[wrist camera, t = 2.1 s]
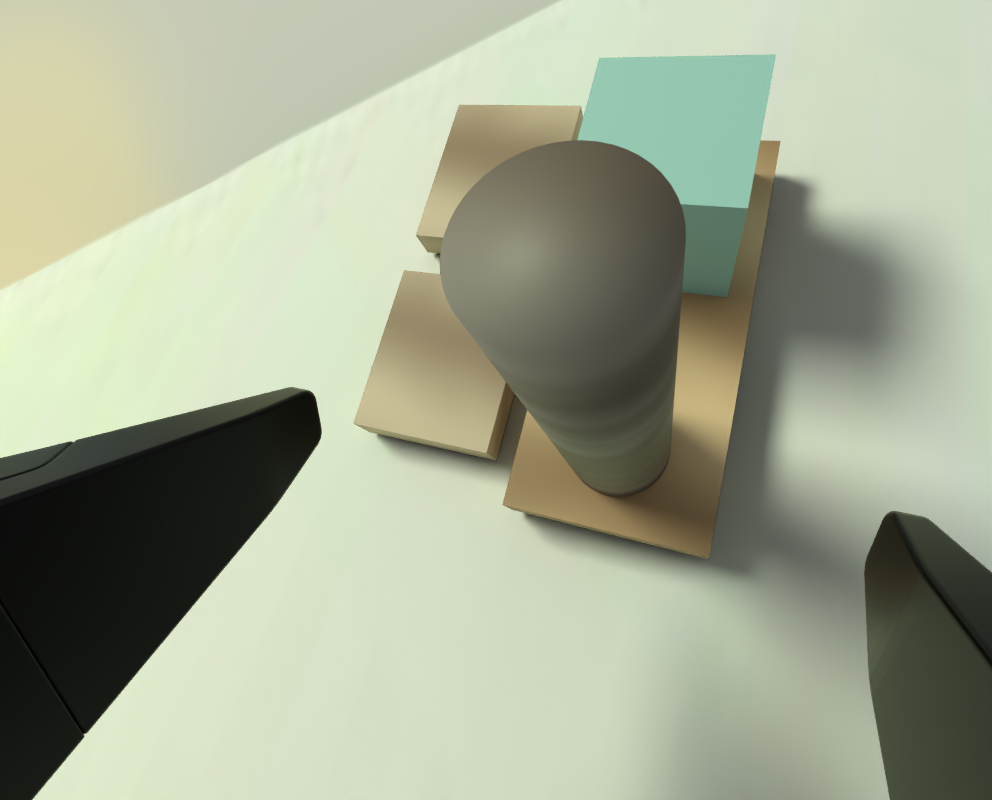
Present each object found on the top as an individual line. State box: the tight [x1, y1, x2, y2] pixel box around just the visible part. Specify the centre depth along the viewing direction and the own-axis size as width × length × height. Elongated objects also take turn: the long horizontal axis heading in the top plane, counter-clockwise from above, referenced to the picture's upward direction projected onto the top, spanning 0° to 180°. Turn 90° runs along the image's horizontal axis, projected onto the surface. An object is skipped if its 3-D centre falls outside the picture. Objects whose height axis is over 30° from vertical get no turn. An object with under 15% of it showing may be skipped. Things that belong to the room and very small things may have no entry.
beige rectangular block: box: [353, 105, 583, 460], centre depth 21 cm, size 14×5×1 cm, turn 165°
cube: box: [577, 55, 776, 297], centre depth 17 cm, size 4×4×4 cm
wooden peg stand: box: [440, 140, 780, 559], centre depth 14 cm, size 14×6×12 cm, turn 165°
